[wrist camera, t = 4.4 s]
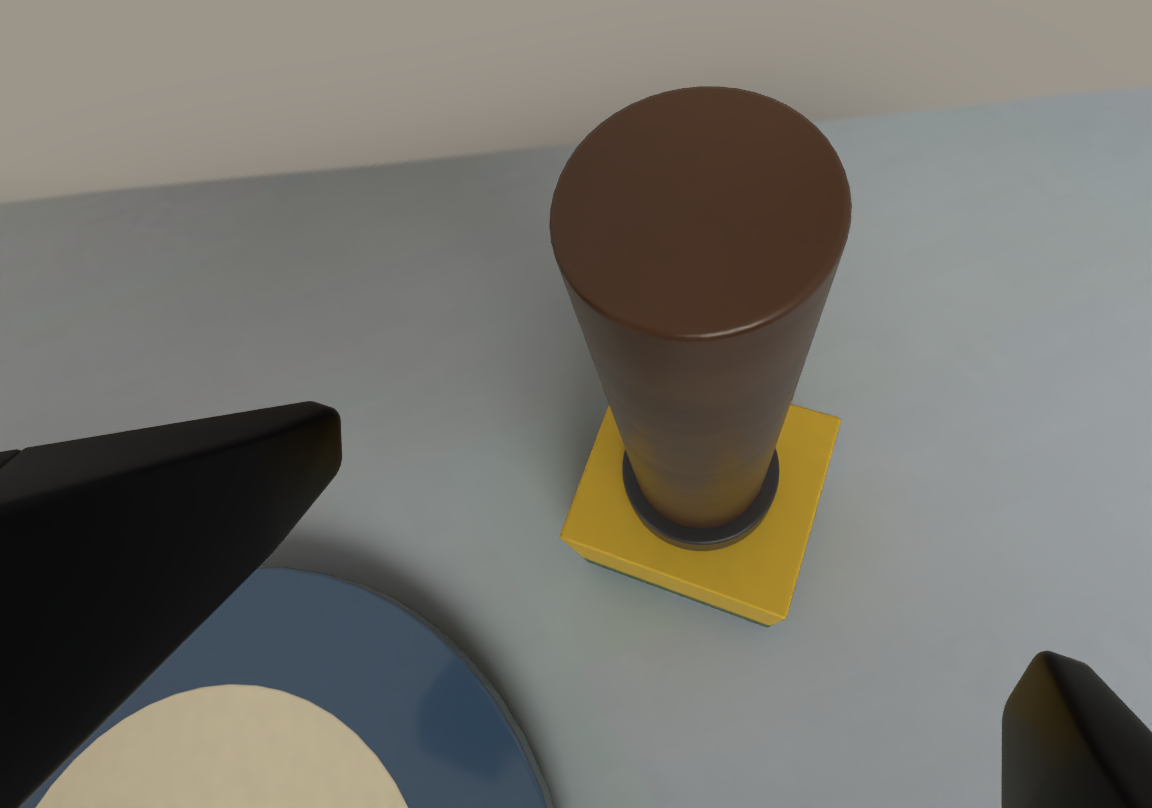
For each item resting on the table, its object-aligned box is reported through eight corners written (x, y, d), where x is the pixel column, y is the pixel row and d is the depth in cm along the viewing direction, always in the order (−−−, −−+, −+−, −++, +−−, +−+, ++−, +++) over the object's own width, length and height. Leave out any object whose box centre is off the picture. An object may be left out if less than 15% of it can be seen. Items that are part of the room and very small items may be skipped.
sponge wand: (768, 628, 18) (946, 545, 5) (586, 561, 19) (339, 356, 6) (814, 464, 19) (1057, 44, 6) (639, 412, 20) (529, -24, 7)
